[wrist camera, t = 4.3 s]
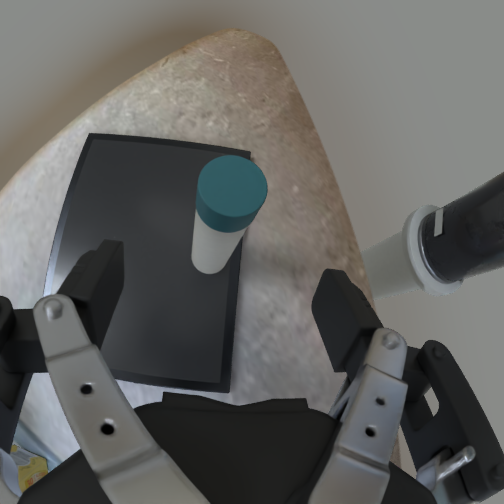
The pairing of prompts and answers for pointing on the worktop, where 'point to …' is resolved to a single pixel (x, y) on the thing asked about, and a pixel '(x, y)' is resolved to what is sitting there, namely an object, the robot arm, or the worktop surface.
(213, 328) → the tablet
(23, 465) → the candy box
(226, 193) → the teal capped white tube
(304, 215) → the worktop surface
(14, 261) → the worktop surface
